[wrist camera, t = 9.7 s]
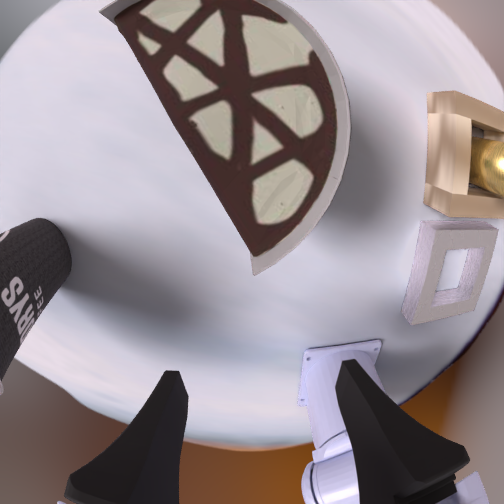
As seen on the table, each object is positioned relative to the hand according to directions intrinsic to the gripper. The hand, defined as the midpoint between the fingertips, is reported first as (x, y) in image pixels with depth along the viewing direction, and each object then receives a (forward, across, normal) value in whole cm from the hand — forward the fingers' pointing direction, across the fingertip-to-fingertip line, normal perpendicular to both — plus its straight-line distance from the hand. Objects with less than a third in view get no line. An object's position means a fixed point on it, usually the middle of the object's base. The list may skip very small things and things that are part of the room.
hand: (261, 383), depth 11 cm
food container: (+11, 0, -12) cm, 16 cm away
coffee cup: (+11, +19, -2) cm, 22 cm away
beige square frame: (+10, -18, -10) cm, 23 cm away
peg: (+10, -18, -9) cm, 23 cm away
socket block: (+10, -18, +1) cm, 21 cm away
